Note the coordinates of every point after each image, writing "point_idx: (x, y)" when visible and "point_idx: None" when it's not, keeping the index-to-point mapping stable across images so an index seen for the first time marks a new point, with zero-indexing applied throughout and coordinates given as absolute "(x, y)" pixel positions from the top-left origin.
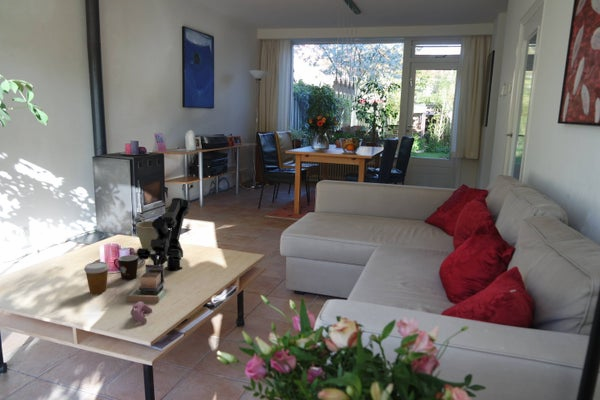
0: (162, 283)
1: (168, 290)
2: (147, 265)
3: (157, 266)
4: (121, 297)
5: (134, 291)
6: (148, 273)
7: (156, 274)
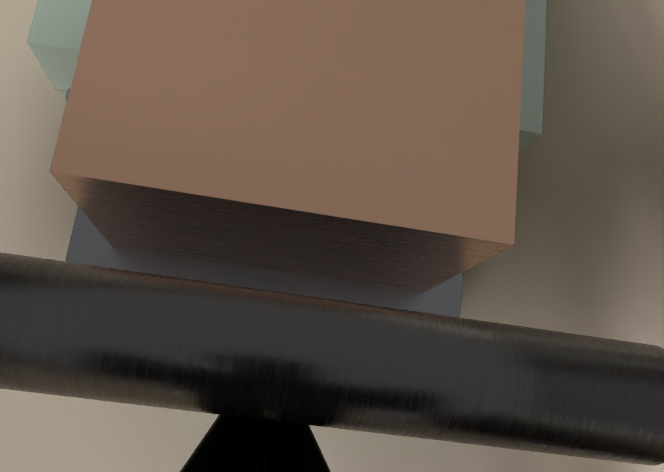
0: (77, 227)
1: None
2: (593, 344)
3: (140, 272)
4: (637, 95)
5: None
6: (409, 136)
7: (160, 42)
